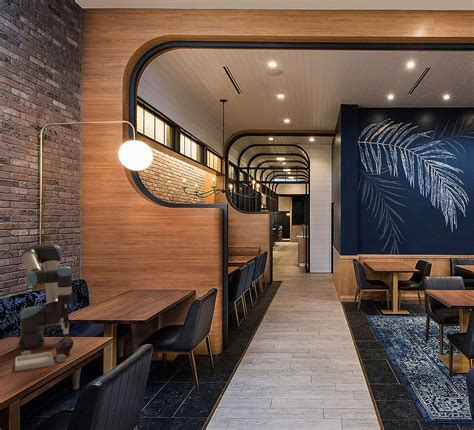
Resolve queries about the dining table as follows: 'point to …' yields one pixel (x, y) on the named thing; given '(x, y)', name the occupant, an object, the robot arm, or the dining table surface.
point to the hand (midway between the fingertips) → (65, 331)
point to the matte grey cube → (25, 353)
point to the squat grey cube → (60, 358)
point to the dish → (33, 361)
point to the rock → (64, 345)
